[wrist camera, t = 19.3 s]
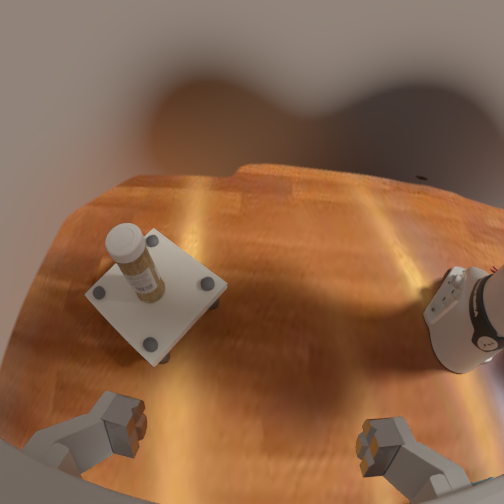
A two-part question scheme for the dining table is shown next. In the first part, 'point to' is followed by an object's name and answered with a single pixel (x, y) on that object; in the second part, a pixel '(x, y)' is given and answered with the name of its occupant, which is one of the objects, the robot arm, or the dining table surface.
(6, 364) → the dining table surface
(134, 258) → the sprinkles bottle
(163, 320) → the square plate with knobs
